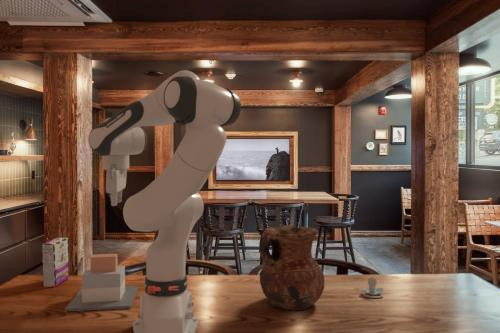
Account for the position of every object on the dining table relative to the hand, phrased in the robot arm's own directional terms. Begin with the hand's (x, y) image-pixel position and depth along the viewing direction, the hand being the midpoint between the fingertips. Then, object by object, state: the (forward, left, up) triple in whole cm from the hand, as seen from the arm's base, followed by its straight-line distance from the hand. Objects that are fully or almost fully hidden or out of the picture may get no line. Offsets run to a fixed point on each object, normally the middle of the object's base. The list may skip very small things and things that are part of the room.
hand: (116, 204), depth 142 cm
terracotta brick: (-4, +4, -22) cm, 23 cm away
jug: (-17, -58, -32) cm, 69 cm away
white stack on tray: (-4, +4, -32) cm, 32 cm away
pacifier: (-14, -88, -32) cm, 95 cm away
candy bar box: (+17, +26, -32) cm, 45 cm away
